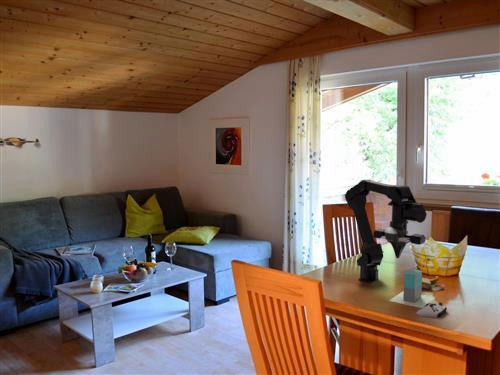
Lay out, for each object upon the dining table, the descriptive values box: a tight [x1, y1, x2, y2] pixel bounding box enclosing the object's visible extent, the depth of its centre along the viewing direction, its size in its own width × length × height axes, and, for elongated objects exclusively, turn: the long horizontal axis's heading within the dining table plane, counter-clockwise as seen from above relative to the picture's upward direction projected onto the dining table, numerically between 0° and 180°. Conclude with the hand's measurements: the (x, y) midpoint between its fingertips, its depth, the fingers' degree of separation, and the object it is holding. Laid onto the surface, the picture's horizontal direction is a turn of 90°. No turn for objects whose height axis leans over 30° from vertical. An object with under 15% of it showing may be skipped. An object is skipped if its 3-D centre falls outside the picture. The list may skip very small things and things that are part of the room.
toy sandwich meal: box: [422, 277, 446, 293], centre depth 185 cm, size 12×14×5 cm
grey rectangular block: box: [403, 284, 423, 303], centre depth 171 cm, size 4×7×5 cm, turn 141°
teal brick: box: [403, 268, 423, 289], centre depth 170 cm, size 4×7×5 cm, turn 141°
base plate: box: [388, 290, 436, 309], centre depth 171 cm, size 12×14×1 cm
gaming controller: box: [415, 302, 448, 319], centre depth 158 cm, size 11×6×7 cm
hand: (397, 258), depth 183 cm, fingers closed
